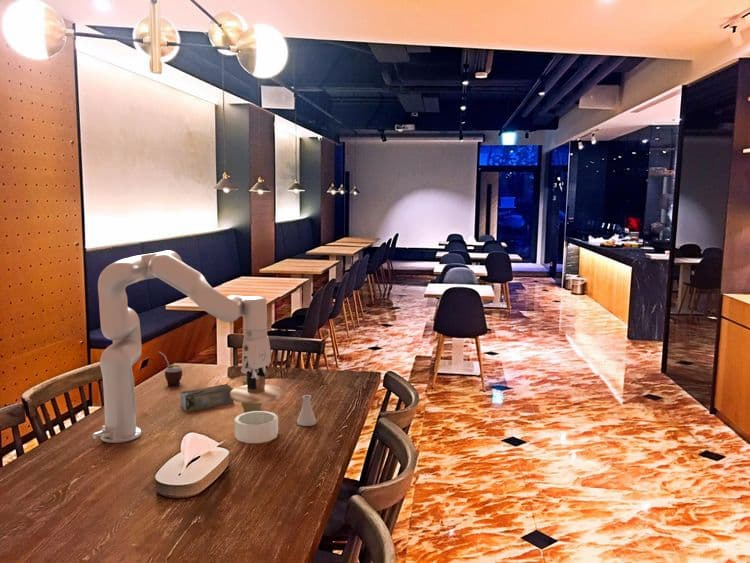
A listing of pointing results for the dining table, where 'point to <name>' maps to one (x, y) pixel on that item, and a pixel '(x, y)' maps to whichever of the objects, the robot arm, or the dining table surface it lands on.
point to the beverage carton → (206, 397)
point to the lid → (256, 392)
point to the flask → (306, 413)
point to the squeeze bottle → (250, 406)
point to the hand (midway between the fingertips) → (256, 386)
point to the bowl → (256, 427)
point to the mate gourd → (172, 374)
